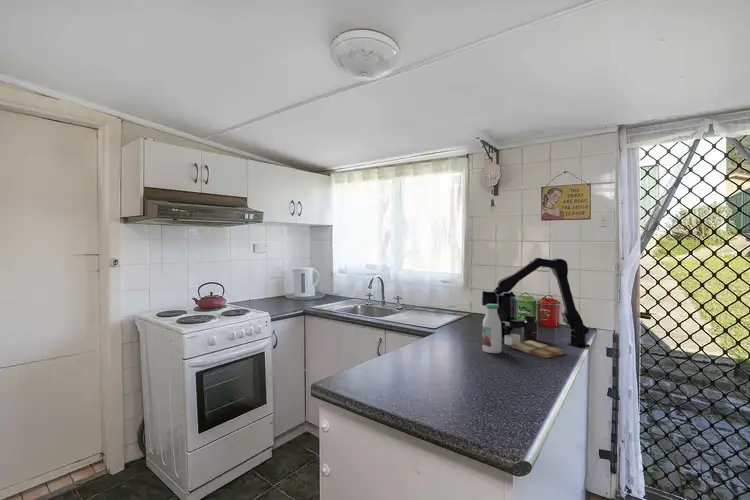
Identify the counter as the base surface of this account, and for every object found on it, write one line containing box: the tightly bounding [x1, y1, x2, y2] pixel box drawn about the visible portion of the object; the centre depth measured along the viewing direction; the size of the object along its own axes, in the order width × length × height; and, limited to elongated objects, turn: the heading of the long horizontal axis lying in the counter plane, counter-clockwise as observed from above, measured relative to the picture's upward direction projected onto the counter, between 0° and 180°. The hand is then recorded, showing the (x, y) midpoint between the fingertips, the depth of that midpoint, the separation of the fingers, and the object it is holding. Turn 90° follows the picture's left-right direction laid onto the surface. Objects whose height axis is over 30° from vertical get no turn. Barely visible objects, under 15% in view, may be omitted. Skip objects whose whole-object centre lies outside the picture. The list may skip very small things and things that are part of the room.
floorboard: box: [529, 346, 566, 359], centre depth 146 cm, size 13×7×2 cm, turn 118°
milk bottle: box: [482, 303, 503, 354], centre depth 150 cm, size 8×8×20 cm
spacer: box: [503, 333, 521, 347], centre depth 162 cm, size 6×4×4 cm, turn 124°
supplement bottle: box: [521, 314, 539, 342], centre depth 167 cm, size 7×7×12 cm
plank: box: [510, 340, 550, 354], centre depth 154 cm, size 13×9×2 cm
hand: (505, 339), depth 166 cm, fingers closed
